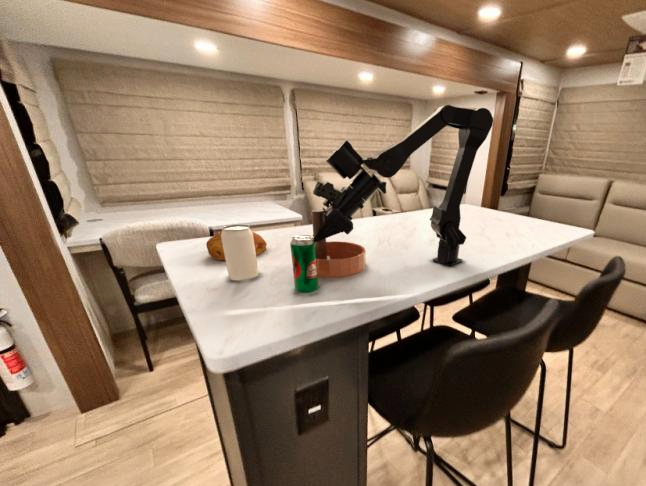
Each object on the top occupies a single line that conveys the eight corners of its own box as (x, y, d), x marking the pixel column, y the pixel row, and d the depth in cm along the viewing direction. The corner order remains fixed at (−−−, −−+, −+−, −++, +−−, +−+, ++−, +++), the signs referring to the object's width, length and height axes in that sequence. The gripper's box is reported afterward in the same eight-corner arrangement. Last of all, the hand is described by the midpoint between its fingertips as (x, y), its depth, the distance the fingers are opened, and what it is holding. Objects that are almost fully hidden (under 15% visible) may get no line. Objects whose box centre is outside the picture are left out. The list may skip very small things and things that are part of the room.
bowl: (338, 254, 92) (338, 238, 90) (377, 268, 82) (378, 250, 80) (289, 267, 80) (287, 249, 78) (328, 285, 71) (327, 265, 69)
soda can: (312, 296, 65) (308, 241, 61) (290, 293, 66) (284, 239, 61) (322, 287, 70) (319, 235, 65) (302, 284, 71) (297, 233, 66)
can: (265, 274, 76) (257, 225, 71) (244, 283, 70) (235, 231, 65) (244, 270, 78) (235, 222, 73) (222, 279, 72) (212, 228, 67)
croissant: (200, 265, 85) (190, 238, 81) (238, 243, 98) (230, 219, 94) (246, 270, 82) (237, 242, 78) (278, 246, 95) (272, 221, 91)
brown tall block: (329, 258, 82) (326, 209, 77) (330, 262, 79) (327, 211, 74) (312, 259, 81) (308, 209, 75) (312, 263, 78) (308, 211, 73)
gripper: (329, 165, 80) (289, 209, 82) (336, 170, 64) (285, 225, 65) (360, 197, 85) (321, 237, 87) (373, 209, 69) (325, 258, 70)
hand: (314, 238), depth 77 cm, fingers closed on brown tall block, 3 cm apart
